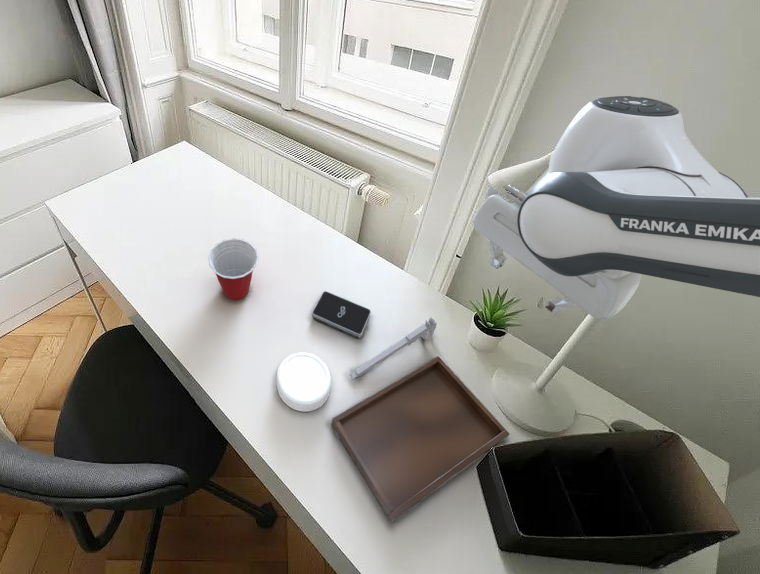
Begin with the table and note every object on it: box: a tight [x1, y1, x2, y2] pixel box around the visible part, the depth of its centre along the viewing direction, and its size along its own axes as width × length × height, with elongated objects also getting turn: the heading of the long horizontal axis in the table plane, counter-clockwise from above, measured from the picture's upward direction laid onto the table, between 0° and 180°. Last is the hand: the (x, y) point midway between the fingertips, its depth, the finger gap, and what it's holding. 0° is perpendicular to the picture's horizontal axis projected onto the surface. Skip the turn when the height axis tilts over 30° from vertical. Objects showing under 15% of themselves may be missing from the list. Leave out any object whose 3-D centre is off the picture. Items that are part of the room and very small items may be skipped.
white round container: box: [276, 352, 332, 413], centre depth 76 cm, size 10×10×4 cm
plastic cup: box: [207, 237, 260, 301], centre depth 90 cm, size 11×11×12 cm
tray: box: [330, 355, 510, 524], centre depth 69 cm, size 16×25×2 cm, turn 117°
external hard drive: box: [311, 290, 372, 339], centre depth 88 cm, size 7×11×2 cm, turn 60°
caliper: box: [349, 317, 437, 380], centre depth 79 cm, size 20×1×6 cm, turn 117°
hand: (522, 286), depth 60 cm, fingers open, 8 cm apart
